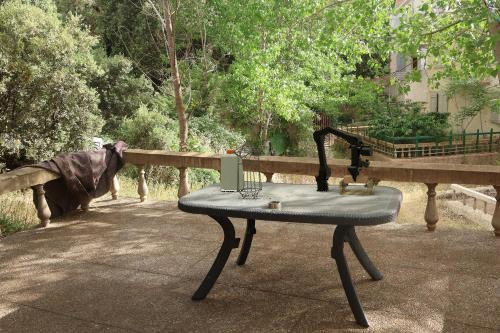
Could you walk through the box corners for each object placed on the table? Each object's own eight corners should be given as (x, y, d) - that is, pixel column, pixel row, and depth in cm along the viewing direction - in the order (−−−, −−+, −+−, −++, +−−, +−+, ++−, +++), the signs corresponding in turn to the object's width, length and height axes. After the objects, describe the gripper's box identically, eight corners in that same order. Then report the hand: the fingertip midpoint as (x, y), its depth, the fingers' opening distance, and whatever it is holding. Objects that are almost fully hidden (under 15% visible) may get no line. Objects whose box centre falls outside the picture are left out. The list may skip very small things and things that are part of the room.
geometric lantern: (233, 199, 287) (230, 143, 284) (244, 195, 301) (241, 141, 298) (256, 200, 280) (253, 142, 277) (266, 195, 295) (264, 141, 291)
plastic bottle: (240, 192, 310) (238, 150, 306) (218, 192, 314) (216, 151, 310) (246, 188, 324) (244, 148, 320) (226, 188, 328) (224, 149, 325)
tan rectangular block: (343, 183, 287) (343, 176, 287) (346, 181, 293) (345, 175, 292) (366, 183, 282) (366, 177, 281) (368, 182, 287) (368, 175, 287)
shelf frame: (339, 194, 286) (339, 181, 285) (343, 190, 297) (343, 178, 296) (369, 195, 279) (369, 182, 278) (372, 191, 290) (372, 179, 289)
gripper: (366, 157, 273) (366, 183, 275) (371, 154, 290) (371, 178, 292) (347, 157, 278) (347, 183, 280) (353, 154, 295) (354, 178, 297)
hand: (356, 180), depth 287 cm, fingers closed on tan rectangular block, 6 cm apart
